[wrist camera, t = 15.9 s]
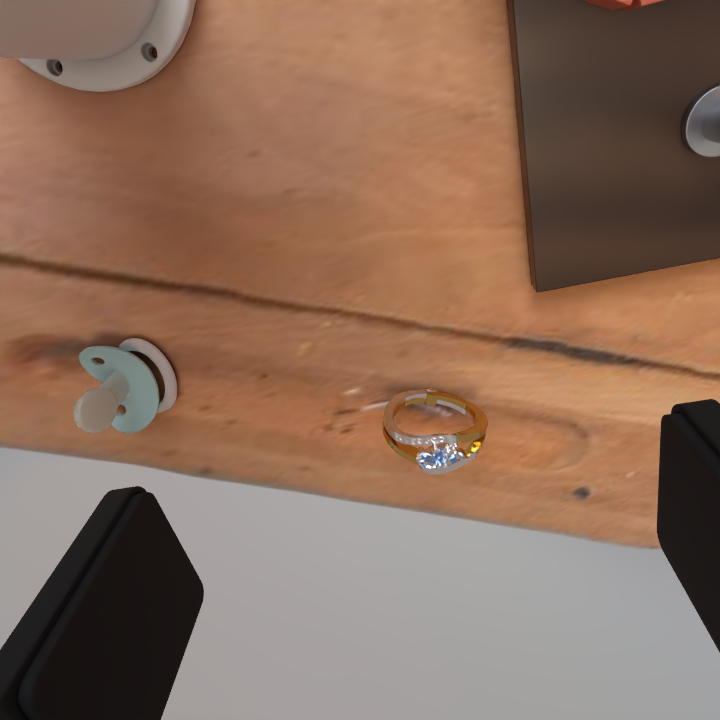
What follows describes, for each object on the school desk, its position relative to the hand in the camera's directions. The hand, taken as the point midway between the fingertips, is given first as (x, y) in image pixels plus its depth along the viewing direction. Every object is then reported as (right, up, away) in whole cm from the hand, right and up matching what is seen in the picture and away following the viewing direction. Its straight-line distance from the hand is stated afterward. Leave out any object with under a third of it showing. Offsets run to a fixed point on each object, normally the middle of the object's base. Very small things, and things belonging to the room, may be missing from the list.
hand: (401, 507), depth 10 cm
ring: (+5, 0, +30) cm, 30 cm away
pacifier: (-17, +2, +30) cm, 35 cm away
